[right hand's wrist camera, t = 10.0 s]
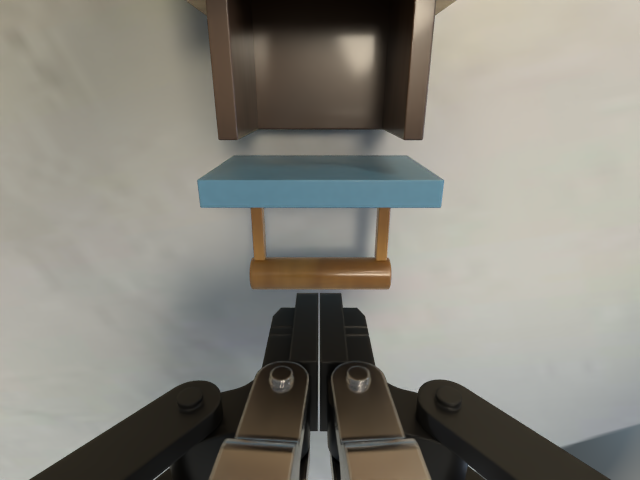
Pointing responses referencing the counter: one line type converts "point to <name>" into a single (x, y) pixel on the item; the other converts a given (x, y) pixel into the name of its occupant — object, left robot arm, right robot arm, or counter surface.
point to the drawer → (320, 119)
